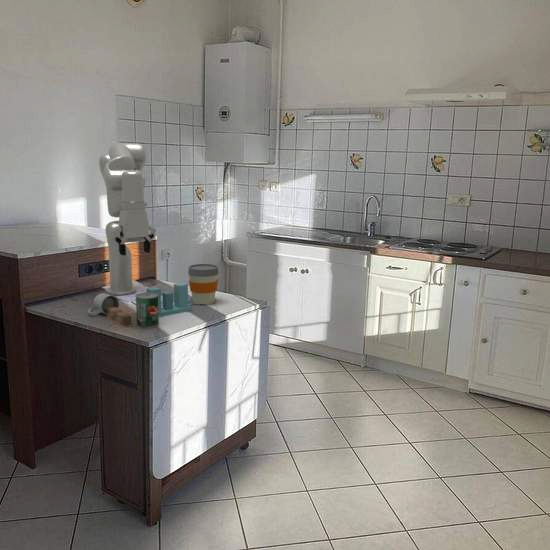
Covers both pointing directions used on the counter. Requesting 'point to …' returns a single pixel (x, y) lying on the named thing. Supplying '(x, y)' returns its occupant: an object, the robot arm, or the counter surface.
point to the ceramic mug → (103, 303)
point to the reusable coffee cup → (203, 282)
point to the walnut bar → (119, 316)
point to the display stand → (167, 299)
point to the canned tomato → (147, 309)
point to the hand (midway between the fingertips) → (135, 253)
